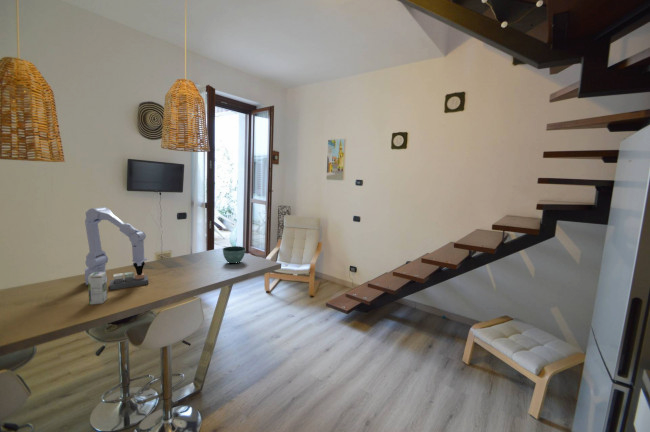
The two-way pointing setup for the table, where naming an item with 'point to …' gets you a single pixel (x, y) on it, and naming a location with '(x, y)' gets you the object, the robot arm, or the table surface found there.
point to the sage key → (129, 276)
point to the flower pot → (233, 254)
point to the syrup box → (97, 288)
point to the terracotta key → (139, 276)
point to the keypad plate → (128, 283)
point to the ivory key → (118, 278)
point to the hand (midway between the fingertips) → (139, 274)
